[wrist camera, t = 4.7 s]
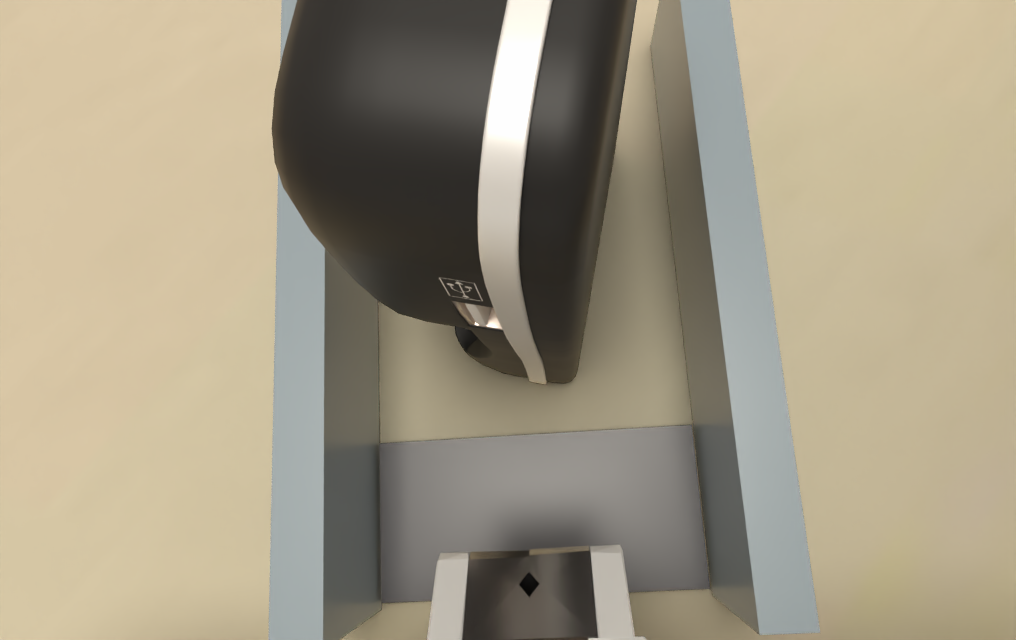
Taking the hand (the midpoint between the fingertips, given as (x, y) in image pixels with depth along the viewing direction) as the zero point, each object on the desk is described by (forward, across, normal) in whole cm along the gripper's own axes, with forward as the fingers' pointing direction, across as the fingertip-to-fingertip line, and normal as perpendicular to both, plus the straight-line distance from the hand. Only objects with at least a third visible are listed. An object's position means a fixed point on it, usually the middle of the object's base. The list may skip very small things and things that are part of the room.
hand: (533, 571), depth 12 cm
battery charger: (+9, 0, -2) cm, 9 cm away
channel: (+7, 0, -1) cm, 7 cm away
